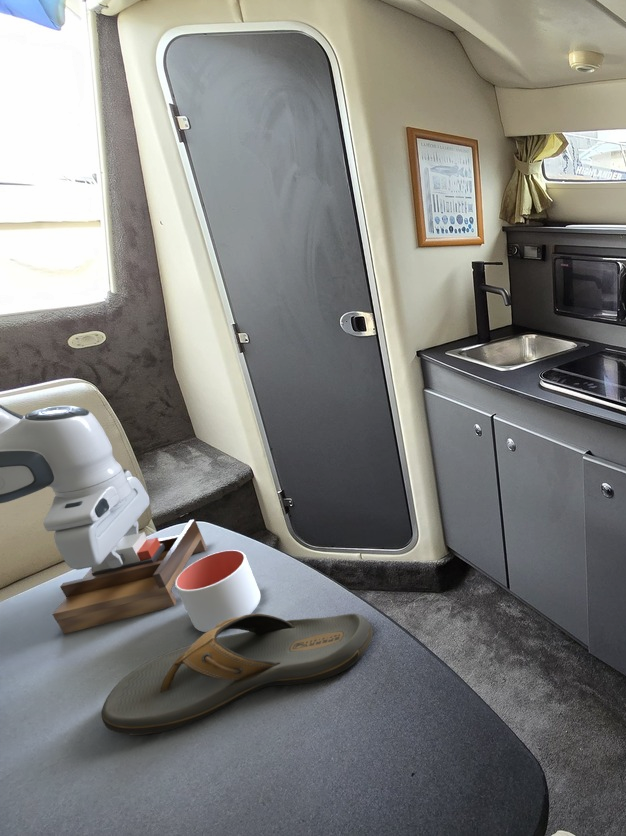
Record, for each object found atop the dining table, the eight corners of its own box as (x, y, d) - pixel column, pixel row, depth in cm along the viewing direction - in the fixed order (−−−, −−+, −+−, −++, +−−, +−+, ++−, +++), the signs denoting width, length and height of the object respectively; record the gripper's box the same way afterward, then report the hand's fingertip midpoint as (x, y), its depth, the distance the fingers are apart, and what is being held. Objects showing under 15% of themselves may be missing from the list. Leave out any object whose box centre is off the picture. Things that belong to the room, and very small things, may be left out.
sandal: (154, 663, 80) (131, 620, 76) (380, 615, 87) (368, 573, 83) (95, 752, 67) (64, 705, 63) (365, 687, 74) (350, 641, 70)
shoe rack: (65, 636, 85) (43, 600, 83) (115, 571, 100) (98, 539, 97) (175, 607, 90) (159, 573, 87) (208, 549, 105) (195, 519, 102)
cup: (209, 600, 92) (190, 557, 88) (269, 586, 94) (253, 544, 91) (184, 643, 83) (162, 597, 79) (252, 626, 86) (233, 581, 82)
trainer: (94, 578, 90) (79, 551, 87) (108, 560, 94) (94, 534, 92) (154, 564, 92) (141, 537, 90) (165, 548, 97) (153, 522, 94)
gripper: (104, 468, 95) (132, 526, 100) (35, 530, 77) (73, 597, 83) (144, 461, 97) (170, 519, 102) (85, 520, 79) (120, 586, 84)
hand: (126, 554), depth 92 cm, fingers closed on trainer, 4 cm apart
